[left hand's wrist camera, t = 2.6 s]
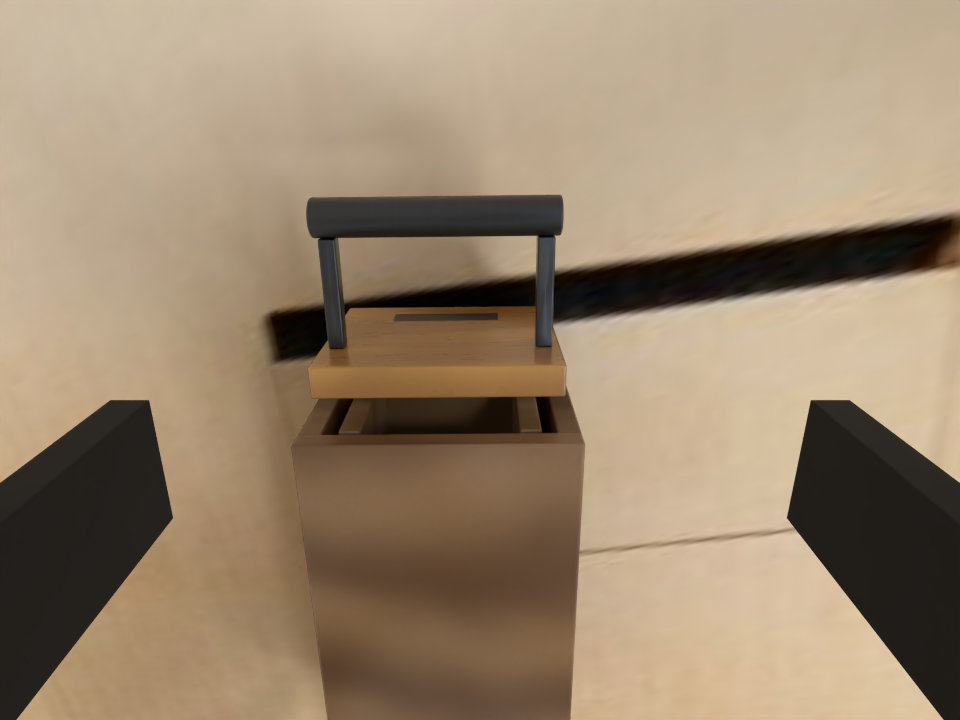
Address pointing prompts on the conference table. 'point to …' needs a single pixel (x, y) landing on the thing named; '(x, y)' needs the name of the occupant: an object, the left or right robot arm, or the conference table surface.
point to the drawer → (438, 325)
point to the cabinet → (443, 567)
